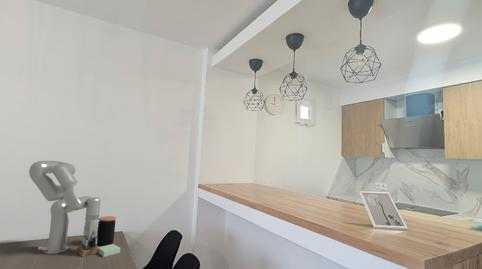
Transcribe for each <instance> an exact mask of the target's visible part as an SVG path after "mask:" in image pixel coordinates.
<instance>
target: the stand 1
mask: <svg viewBox="0 0 482 269" xmlns="http://www.w3.org/2000/svg"><path fill="white" fill-rule="evenodd" d="M98 247H99V246H97V247H96V248H93V249H88V250H84V249H83V248H82V245H81V246H77V247H76V253H77V254H78V255H79V256H80V257H82V258H84V257H88V256H92V255H96V254H99V253H98V252H99V248H98Z"/></svg>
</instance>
